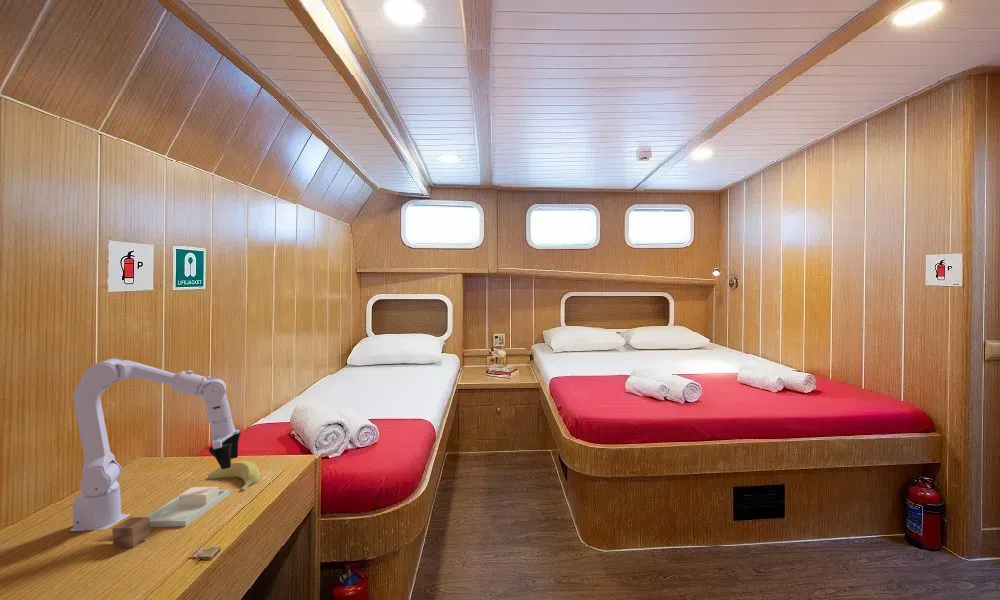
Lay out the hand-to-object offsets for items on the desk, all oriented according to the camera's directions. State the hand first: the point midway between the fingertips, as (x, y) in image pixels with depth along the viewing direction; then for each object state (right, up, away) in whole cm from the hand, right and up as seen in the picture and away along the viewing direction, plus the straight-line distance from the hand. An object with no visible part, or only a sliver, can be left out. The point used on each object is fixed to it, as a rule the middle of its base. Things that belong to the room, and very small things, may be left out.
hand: (230, 463), depth 132 cm
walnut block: (-10, -11, -23) cm, 27 cm away
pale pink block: (-7, -10, -3) cm, 13 cm away
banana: (-4, -11, +10) cm, 15 cm away
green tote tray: (-7, -11, -8) cm, 15 cm away
